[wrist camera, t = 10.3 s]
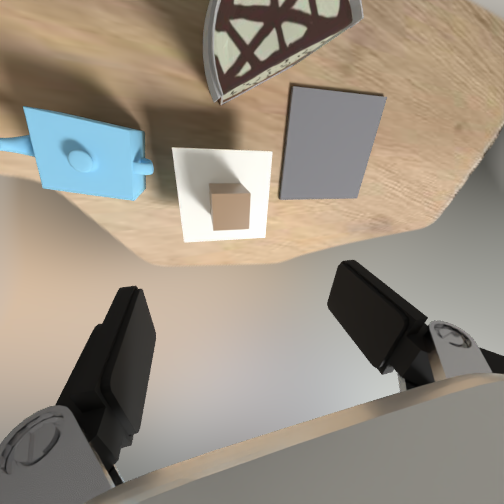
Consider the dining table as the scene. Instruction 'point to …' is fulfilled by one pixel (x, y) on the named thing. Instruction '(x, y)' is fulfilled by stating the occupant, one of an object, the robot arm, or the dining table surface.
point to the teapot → (84, 154)
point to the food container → (266, 38)
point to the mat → (328, 143)
